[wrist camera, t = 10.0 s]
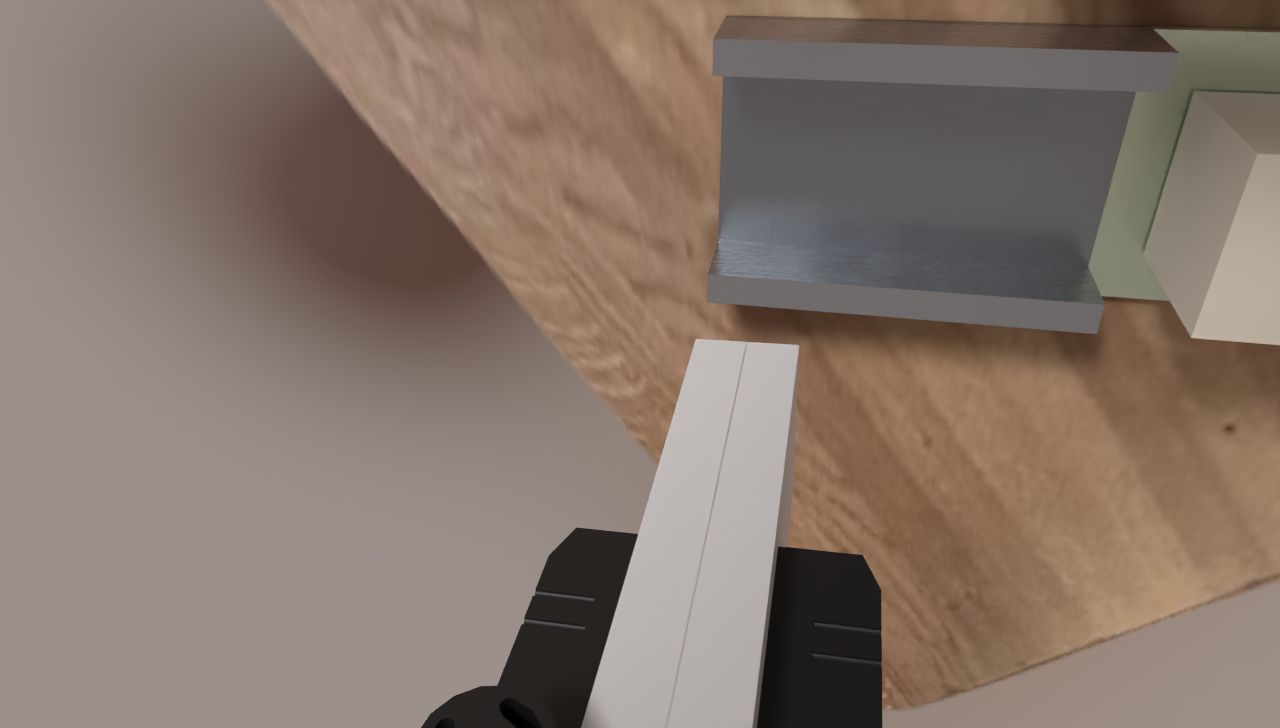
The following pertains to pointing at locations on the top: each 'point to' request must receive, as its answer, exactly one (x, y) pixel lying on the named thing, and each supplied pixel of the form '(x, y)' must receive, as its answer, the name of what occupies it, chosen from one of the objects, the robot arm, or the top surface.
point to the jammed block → (1223, 219)
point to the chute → (956, 162)
